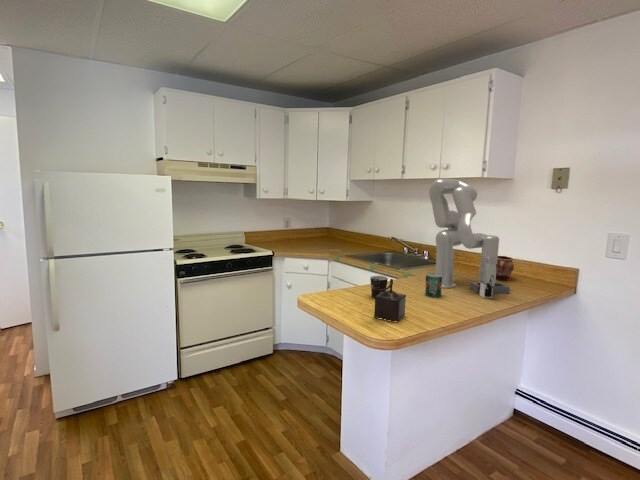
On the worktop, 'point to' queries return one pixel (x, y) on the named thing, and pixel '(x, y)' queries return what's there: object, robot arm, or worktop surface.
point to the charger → (483, 289)
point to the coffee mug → (381, 286)
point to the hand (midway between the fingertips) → (485, 294)
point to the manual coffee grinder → (388, 302)
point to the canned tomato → (433, 285)
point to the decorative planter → (504, 268)
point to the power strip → (496, 288)
